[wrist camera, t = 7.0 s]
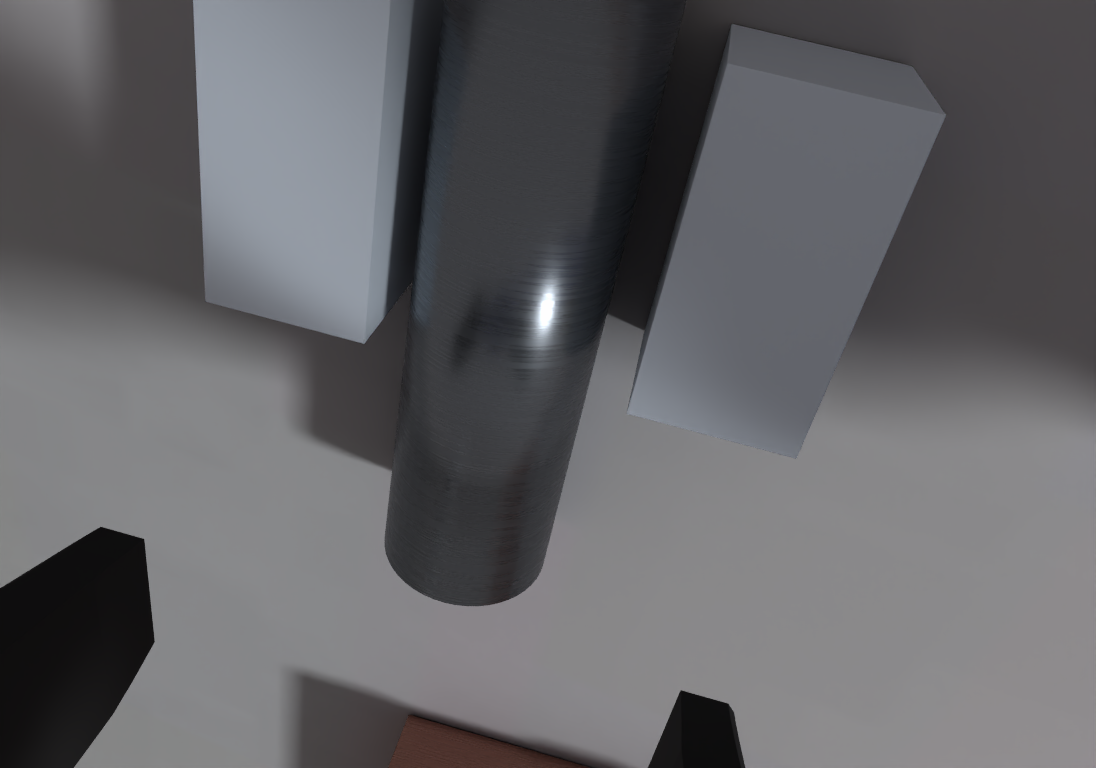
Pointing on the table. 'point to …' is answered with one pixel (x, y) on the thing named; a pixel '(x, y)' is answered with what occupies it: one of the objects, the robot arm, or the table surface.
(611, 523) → the table surface
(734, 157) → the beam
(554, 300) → the axle
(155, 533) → the table surface
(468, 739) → the v block
